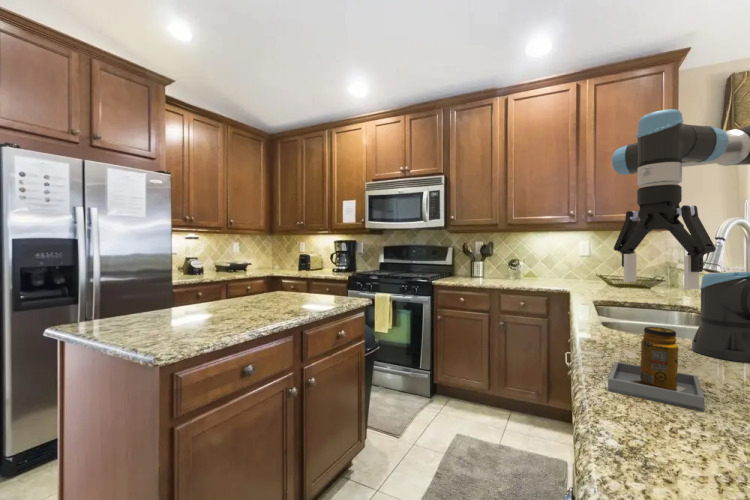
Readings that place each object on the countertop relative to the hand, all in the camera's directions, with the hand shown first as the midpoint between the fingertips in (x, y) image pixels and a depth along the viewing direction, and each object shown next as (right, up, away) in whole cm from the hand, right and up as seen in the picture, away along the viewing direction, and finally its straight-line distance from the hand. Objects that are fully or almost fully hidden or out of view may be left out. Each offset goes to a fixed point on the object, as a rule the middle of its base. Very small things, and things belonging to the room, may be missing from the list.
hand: (658, 285), depth 78 cm
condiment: (-3, -21, -3) cm, 21 cm away
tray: (-3, -21, -3) cm, 22 cm away
